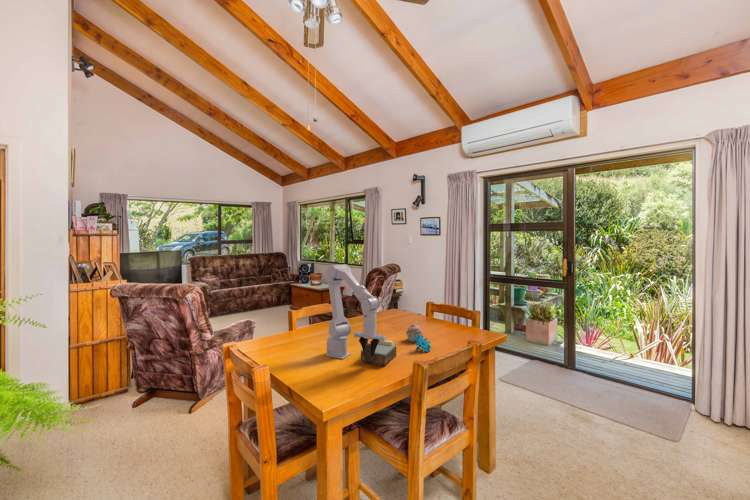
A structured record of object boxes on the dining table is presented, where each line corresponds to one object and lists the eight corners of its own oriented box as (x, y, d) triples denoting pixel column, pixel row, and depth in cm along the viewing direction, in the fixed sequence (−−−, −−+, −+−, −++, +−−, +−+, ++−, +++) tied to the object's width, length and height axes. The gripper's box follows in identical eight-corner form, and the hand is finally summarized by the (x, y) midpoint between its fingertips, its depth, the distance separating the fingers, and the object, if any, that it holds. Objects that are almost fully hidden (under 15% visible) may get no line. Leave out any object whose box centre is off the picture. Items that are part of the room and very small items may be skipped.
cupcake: (420, 344, 189) (421, 326, 189) (403, 342, 192) (404, 324, 192) (423, 339, 198) (424, 321, 198) (407, 337, 201) (408, 320, 201)
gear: (421, 351, 173) (412, 333, 179) (414, 357, 176) (406, 340, 182) (436, 350, 180) (427, 333, 186) (429, 356, 183) (420, 339, 189)
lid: (360, 352, 162) (360, 347, 162) (373, 342, 176) (373, 337, 176) (385, 356, 157) (385, 351, 157) (396, 346, 171) (396, 341, 171)
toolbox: (360, 362, 162) (360, 352, 162) (373, 352, 176) (373, 343, 176) (384, 366, 158) (385, 356, 157) (396, 355, 171) (396, 346, 171)
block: (364, 359, 155) (364, 345, 155) (367, 357, 158) (367, 343, 158) (370, 360, 154) (371, 346, 154) (373, 358, 157) (373, 344, 156)
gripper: (350, 324, 154) (350, 355, 155) (381, 329, 148) (380, 360, 149) (357, 320, 161) (357, 350, 162) (387, 324, 155) (386, 355, 156)
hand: (369, 354), depth 156 cm, fingers closed on block, 3 cm apart
